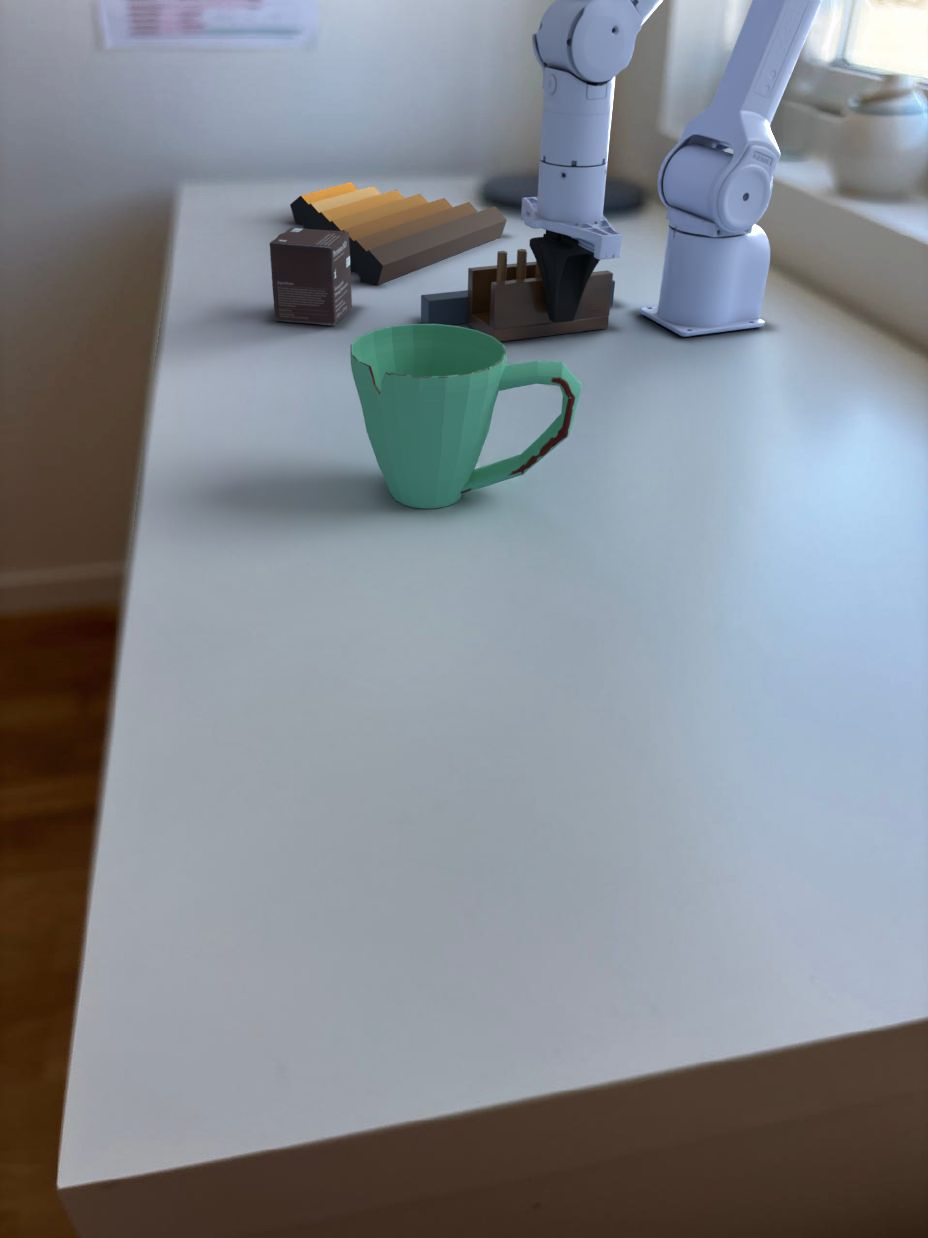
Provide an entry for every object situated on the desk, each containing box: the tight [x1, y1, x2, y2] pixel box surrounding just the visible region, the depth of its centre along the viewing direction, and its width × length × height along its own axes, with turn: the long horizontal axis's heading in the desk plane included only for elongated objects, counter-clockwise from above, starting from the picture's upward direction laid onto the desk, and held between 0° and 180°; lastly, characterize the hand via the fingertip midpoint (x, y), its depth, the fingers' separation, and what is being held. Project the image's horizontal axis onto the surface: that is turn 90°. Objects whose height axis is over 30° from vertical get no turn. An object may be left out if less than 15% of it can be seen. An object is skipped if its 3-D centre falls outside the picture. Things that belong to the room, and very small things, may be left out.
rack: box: [467, 248, 614, 343], centre depth 102 cm, size 12×6×7 cm, turn 114°
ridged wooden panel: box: [289, 181, 508, 286], centre depth 127 cm, size 25×3×25 cm
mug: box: [349, 323, 583, 510], centre depth 71 cm, size 15×10×10 cm
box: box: [269, 227, 353, 326], centre depth 103 cm, size 6×6×7 cm
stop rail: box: [420, 279, 616, 325], centre depth 106 cm, size 20×2×2 cm, turn 114°
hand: (561, 320), depth 99 cm, fingers closed
